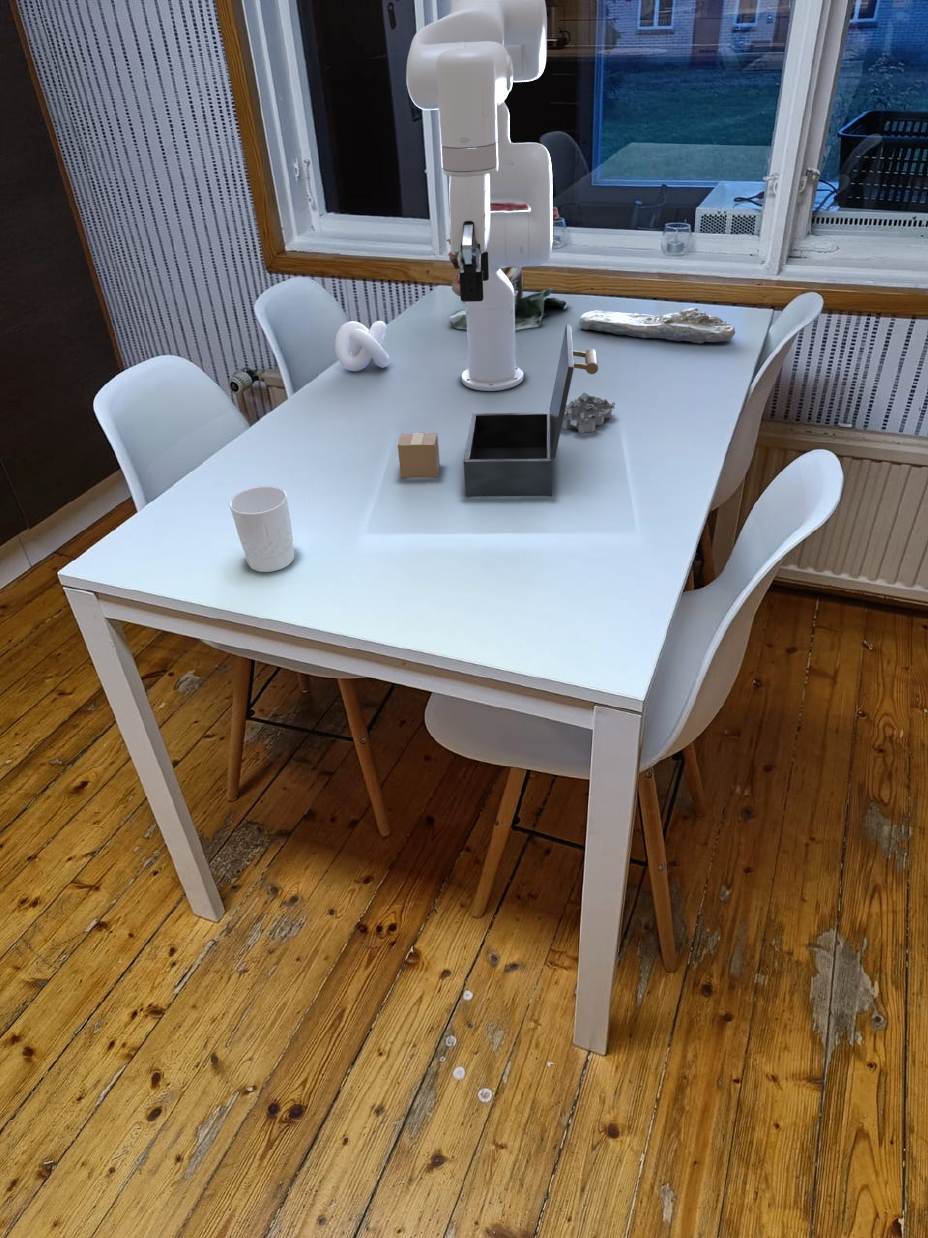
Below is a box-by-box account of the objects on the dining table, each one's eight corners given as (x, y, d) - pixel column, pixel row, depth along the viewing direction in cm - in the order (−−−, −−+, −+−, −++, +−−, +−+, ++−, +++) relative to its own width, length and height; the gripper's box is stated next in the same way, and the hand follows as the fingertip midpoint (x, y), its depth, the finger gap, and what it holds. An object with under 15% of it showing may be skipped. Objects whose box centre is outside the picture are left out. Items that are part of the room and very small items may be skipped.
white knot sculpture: (359, 352, 192) (354, 312, 187) (406, 358, 188) (402, 317, 182) (332, 370, 184) (325, 328, 179) (380, 377, 180) (375, 334, 174)
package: (401, 481, 142) (397, 444, 138) (404, 468, 146) (401, 432, 142) (437, 481, 142) (434, 444, 138) (439, 468, 145) (437, 432, 141)
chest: (465, 500, 136) (463, 461, 132) (473, 449, 150) (471, 413, 146) (551, 500, 135) (552, 460, 131) (551, 448, 149) (551, 412, 145)
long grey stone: (587, 324, 203) (573, 340, 196) (587, 301, 200) (572, 317, 193) (739, 331, 189) (728, 348, 182) (741, 307, 185) (730, 324, 179)
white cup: (247, 547, 128) (233, 488, 122) (300, 543, 128) (288, 483, 122) (241, 577, 122) (225, 516, 116) (296, 572, 122) (284, 511, 116)
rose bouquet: (465, 296, 221) (458, 166, 203) (574, 304, 212) (577, 168, 194) (423, 328, 203) (412, 189, 185) (541, 339, 193) (541, 193, 175)
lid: (568, 366, 122) (603, 371, 122) (565, 324, 136) (597, 329, 136) (549, 457, 130) (582, 462, 130) (549, 409, 145) (578, 413, 145)
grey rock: (587, 439, 151) (588, 418, 149) (552, 430, 155) (552, 408, 153) (618, 417, 158) (619, 396, 155) (583, 409, 162) (584, 388, 159)
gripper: (449, 148, 122) (456, 273, 132) (433, 172, 108) (442, 309, 119) (501, 146, 121) (504, 272, 131) (492, 170, 107) (496, 308, 118)
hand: (475, 290), depth 125 cm, fingers open, 9 cm apart
